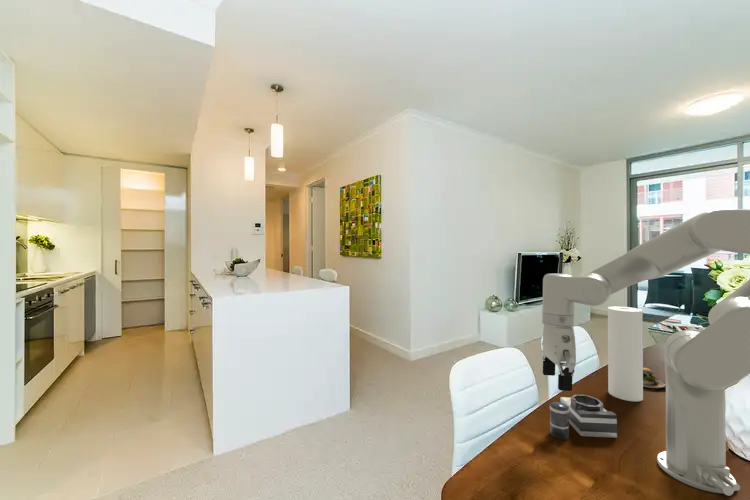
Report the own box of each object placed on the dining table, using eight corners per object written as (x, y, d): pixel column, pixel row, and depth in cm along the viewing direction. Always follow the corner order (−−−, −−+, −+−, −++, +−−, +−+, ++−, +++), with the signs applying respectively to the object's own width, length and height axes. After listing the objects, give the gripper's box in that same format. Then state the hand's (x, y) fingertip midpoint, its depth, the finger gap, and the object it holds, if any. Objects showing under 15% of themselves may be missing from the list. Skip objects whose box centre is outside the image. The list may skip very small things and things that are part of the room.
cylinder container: (649, 402, 106) (649, 310, 106) (617, 400, 108) (616, 309, 108) (632, 390, 115) (632, 305, 115) (603, 388, 117) (602, 304, 117)
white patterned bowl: (620, 383, 121) (620, 363, 121) (630, 376, 128) (630, 357, 128) (662, 395, 112) (662, 373, 112) (671, 386, 119) (670, 365, 119)
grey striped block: (617, 437, 87) (617, 410, 86) (580, 436, 88) (580, 409, 87) (591, 414, 99) (591, 391, 99) (560, 413, 100) (560, 389, 99)
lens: (572, 440, 86) (572, 409, 86) (554, 439, 86) (554, 408, 86) (564, 430, 90) (564, 401, 90) (546, 429, 91) (546, 400, 91)
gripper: (590, 328, 79) (588, 398, 79) (558, 313, 96) (556, 370, 97) (557, 327, 80) (556, 396, 80) (531, 312, 97) (530, 369, 97)
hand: (556, 382), depth 88 cm, fingers open, 9 cm apart
